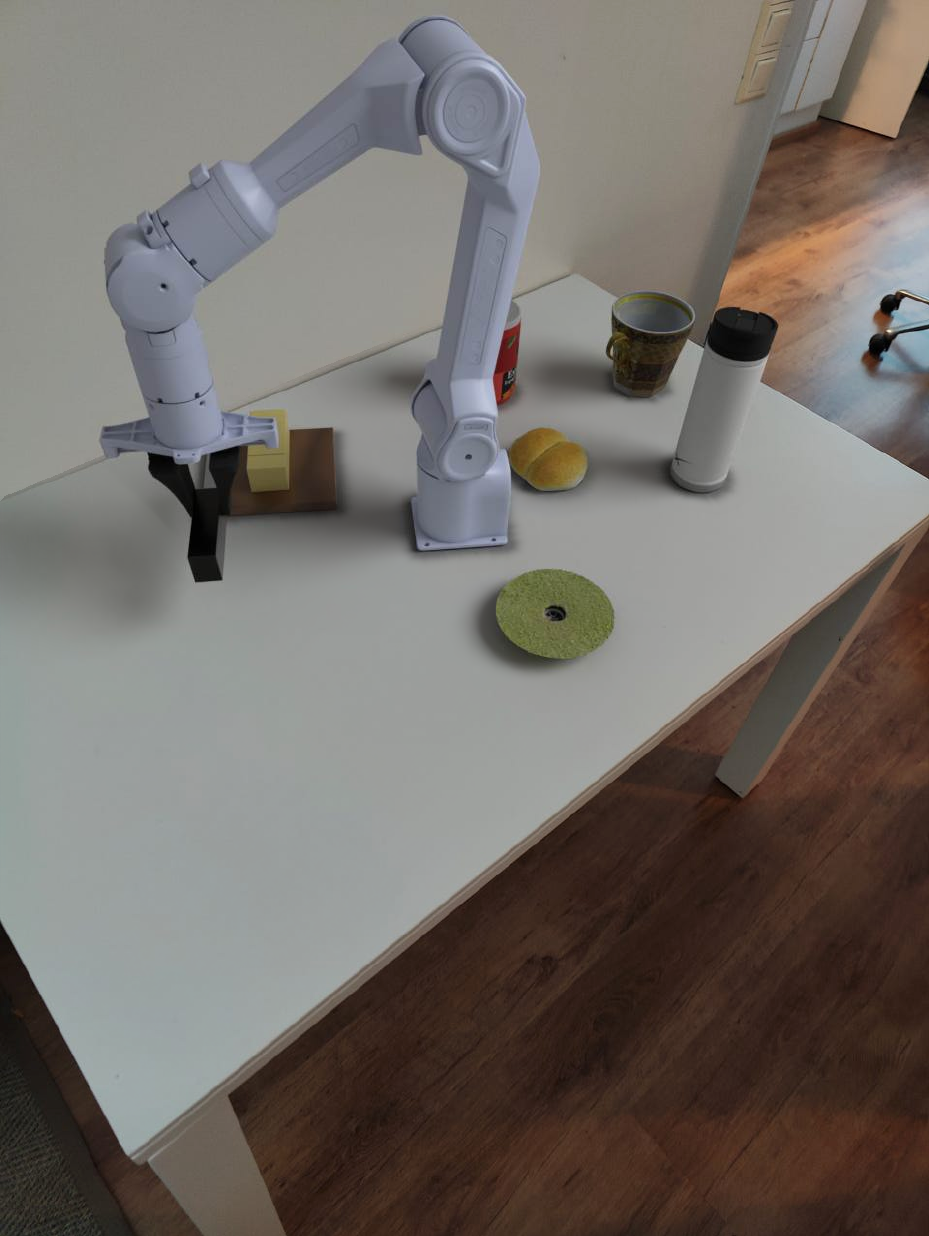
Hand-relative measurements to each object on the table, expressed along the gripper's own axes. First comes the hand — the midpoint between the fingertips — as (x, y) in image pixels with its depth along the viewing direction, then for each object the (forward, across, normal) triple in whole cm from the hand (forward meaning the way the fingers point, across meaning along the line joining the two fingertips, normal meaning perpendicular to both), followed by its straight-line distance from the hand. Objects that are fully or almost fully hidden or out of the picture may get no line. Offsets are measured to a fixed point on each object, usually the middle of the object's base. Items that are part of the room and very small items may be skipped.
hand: (210, 509), depth 77 cm
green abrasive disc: (+8, +31, -11) cm, 34 cm away
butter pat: (+6, +4, +11) cm, 13 cm away
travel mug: (+8, +52, +9) cm, 54 cm away
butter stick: (+6, +4, +16) cm, 18 cm away
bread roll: (+8, +35, +12) cm, 38 cm away
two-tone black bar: (+1, 0, +2) cm, 2 cm away
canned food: (+8, +30, +28) cm, 42 cm away
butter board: (+8, +4, +14) cm, 16 cm away
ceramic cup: (+8, +49, +27) cm, 57 cm away
